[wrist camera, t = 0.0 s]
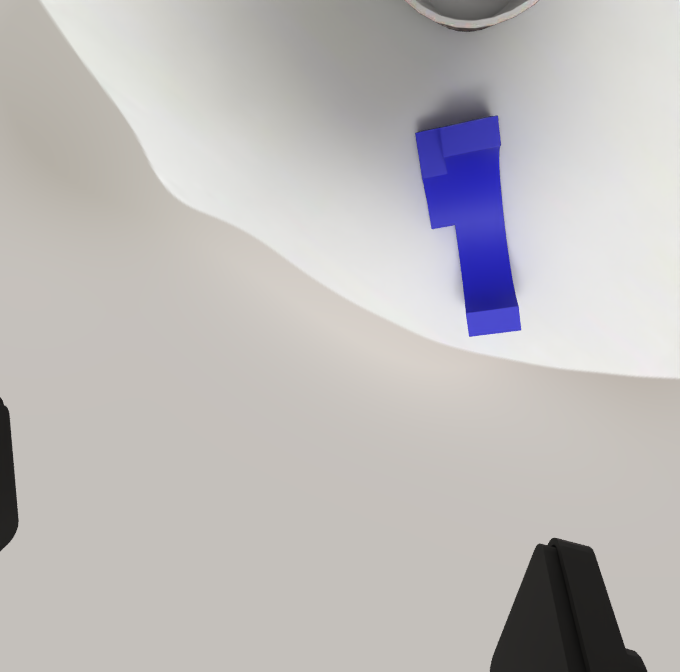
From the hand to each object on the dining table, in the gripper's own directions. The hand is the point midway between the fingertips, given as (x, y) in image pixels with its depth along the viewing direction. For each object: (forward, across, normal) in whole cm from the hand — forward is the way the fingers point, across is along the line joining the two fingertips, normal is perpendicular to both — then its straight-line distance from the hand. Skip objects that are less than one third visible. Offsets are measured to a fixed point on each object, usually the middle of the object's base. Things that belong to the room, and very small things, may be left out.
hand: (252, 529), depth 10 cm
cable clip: (+31, -4, -1) cm, 31 cm away
